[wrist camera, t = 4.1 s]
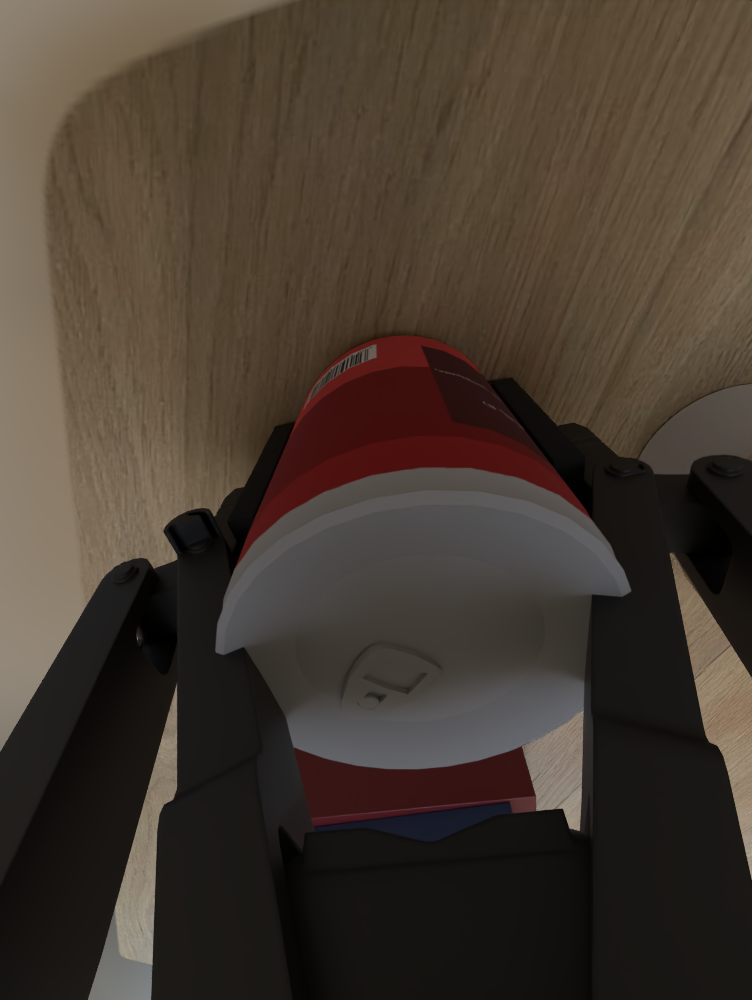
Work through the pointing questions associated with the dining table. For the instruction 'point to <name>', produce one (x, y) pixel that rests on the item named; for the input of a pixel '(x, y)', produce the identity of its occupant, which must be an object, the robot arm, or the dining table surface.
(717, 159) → the dining table surface
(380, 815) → the book stack
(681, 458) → the coffee cup
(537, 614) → the canned food
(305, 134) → the dining table surface
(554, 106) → the dining table surface
